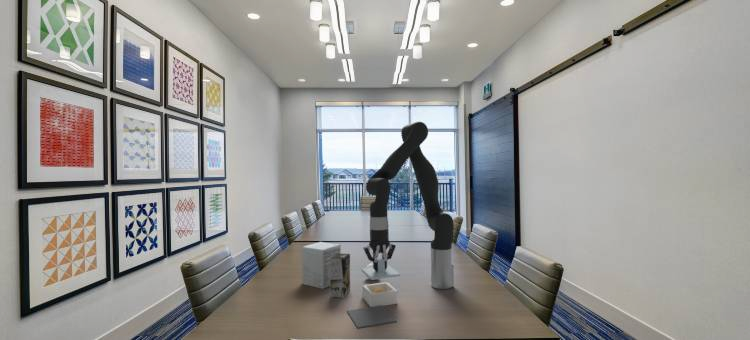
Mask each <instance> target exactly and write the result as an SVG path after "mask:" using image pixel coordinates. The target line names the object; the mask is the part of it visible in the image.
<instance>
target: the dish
mask: <svg viewBox="0 0 750 340" xmlns="http://www.w3.org/2000/svg"><path fill="white" fill-rule="evenodd" d="M361 286H362V287H361V288H362V299H363V300H364V301H365V303H367V305H368V307H375V306H381V305H383V306H384V307H385V306H390V305H396V304H397V305H398V290H397V289H396V288H395V287H394V286H393V285H391V284H390V283H389V282H388V281H386V282H384V281H383V282H377V283H371V284H370V283H369V284H364V285H363V284H362V285H361ZM377 289H382V290H383V292H376V293H375V291H376V290H377Z"/></svg>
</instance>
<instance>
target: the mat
mask: <svg viewBox="0 0 750 340" xmlns="http://www.w3.org/2000/svg"><path fill="white" fill-rule="evenodd" d="M346 312H347V315H349V317H350V319H351V320H352V321H353V324H354V325H355V327H356V329H362V328H369V327H374V326H380V325H385V324H386V325H387V324H392V323H397V319H396V318H395V317H394V316H393V315H392V314H391V313H390V312H389V310H387V308H386V307H385V306H383V305H381V306H375V307H370V306H368V307H363V308H355V309H350V310H349V309H348V310H347V311H346Z"/></svg>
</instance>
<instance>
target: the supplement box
mask: <svg viewBox="0 0 750 340" xmlns="http://www.w3.org/2000/svg"><path fill="white" fill-rule="evenodd" d="M341 246H342V245H341V244H338V243H330V242H324V241H319V242H315V243H311V244H308V245H307V244H306V245H304V246H301V251H302V252H301V253H302V254H301V258H302V259H301V261H302V262H301V263H302V264H301V266H302V270H301V271H302V274H301V277H302V279H301V280H302V285H306V286H310V287H315V288H317V289H321V290H324V289H326V288H328V287H330V258H332V257H333V256H334V255H336V254H342V252H341Z"/></svg>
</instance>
